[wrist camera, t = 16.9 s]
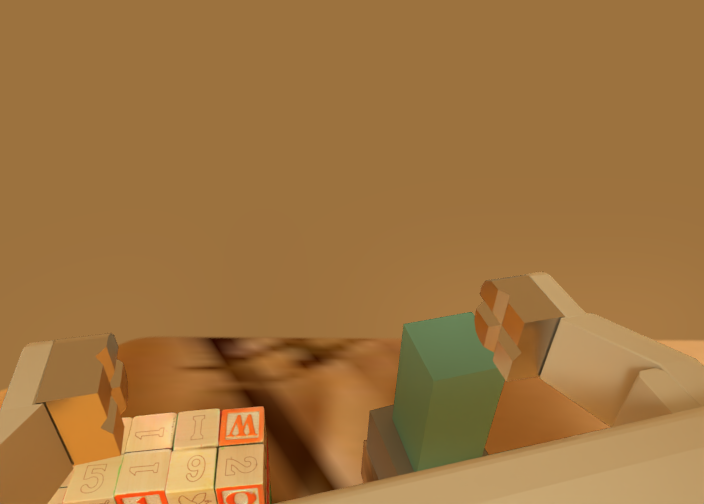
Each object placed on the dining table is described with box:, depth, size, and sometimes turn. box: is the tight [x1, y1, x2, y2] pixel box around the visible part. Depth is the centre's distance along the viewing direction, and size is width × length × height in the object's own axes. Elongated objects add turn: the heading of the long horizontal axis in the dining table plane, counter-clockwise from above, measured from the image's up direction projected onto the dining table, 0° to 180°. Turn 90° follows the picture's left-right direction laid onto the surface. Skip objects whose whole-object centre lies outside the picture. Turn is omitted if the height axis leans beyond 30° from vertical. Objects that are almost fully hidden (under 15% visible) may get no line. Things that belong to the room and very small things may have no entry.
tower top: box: [366, 405, 488, 480], centre depth 40 cm, size 7×7×5 cm
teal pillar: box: [392, 312, 505, 472], centre depth 35 cm, size 5×5×10 cm
